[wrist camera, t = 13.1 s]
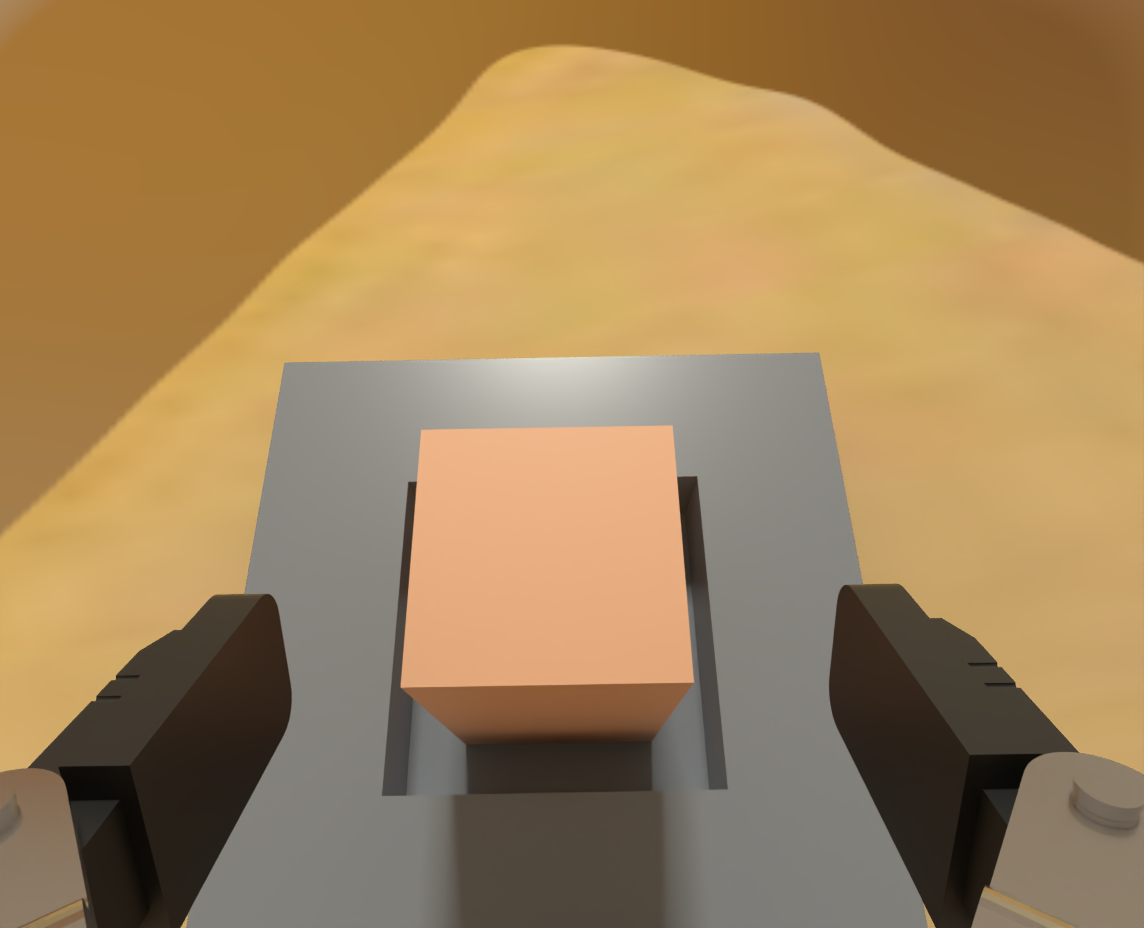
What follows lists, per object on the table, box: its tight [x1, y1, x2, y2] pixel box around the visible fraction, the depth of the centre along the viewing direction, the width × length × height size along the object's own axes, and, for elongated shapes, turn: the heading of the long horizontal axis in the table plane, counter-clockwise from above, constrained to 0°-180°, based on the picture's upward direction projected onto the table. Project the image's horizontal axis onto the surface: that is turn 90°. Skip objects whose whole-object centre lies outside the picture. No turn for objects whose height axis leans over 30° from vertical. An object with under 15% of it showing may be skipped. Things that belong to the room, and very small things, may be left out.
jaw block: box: [401, 425, 694, 745], centre depth 16 cm, size 4×4×8 cm
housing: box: [186, 353, 928, 928], centre depth 19 cm, size 14×14×3 cm
